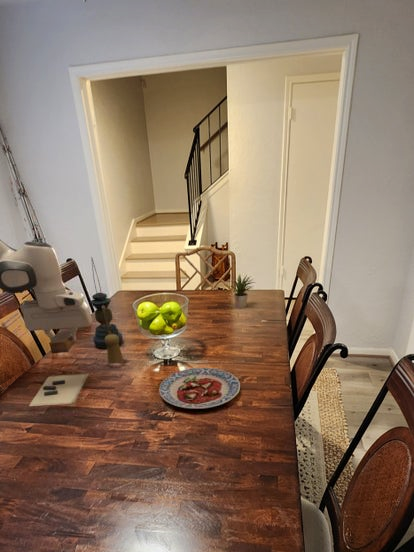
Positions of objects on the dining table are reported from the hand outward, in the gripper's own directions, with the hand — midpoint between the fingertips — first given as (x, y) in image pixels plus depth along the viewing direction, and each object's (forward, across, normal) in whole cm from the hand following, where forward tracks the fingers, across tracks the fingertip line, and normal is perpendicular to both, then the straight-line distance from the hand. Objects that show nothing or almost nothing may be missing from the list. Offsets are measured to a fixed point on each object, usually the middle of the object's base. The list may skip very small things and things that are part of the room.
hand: (64, 340), depth 120 cm
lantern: (+16, +6, +33) cm, 37 cm away
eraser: (+2, 0, 0) cm, 2 cm away
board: (+15, -3, -6) cm, 17 cm away
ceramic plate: (+16, +43, -12) cm, 47 cm away
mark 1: (+14, -7, -6) cm, 17 cm away
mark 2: (+14, -5, -9) cm, 18 cm away
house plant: (+16, +67, +72) cm, 100 cm away
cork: (+16, +12, +14) cm, 24 cm away
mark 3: (+14, -5, -2) cm, 15 cm away
